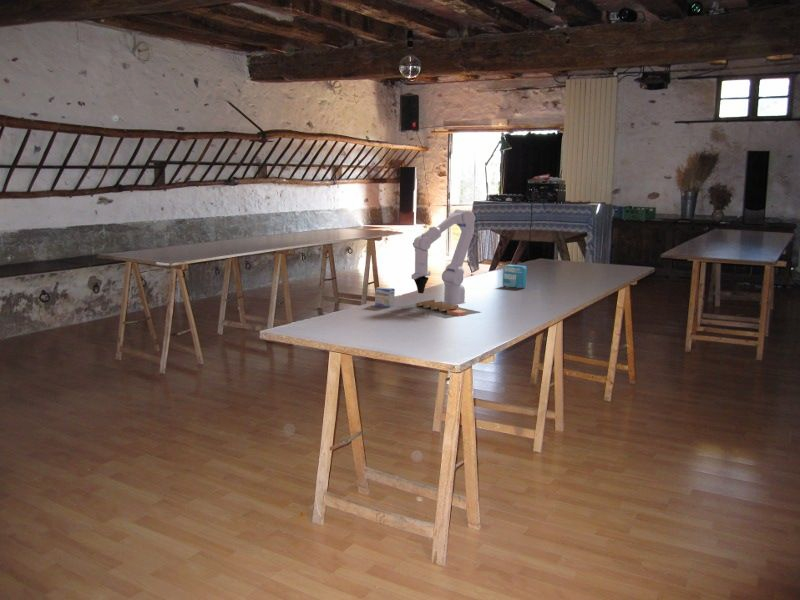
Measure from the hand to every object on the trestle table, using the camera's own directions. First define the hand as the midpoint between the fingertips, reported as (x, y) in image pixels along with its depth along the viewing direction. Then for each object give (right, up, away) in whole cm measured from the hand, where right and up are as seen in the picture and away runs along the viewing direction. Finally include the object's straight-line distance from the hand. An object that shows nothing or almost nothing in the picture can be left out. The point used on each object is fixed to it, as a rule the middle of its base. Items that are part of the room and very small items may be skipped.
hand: (420, 293), depth 311 cm
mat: (+8, -8, -6) cm, 13 cm away
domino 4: (+10, -7, -10) cm, 16 cm away
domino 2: (+3, -6, -3) cm, 7 cm away
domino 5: (+13, -8, -14) cm, 21 cm away
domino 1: (0, -5, +1) cm, 5 cm away
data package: (+53, +3, +60) cm, 80 cm away
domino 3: (+6, -7, -6) cm, 11 cm away
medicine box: (-16, -7, 0) cm, 18 cm away
